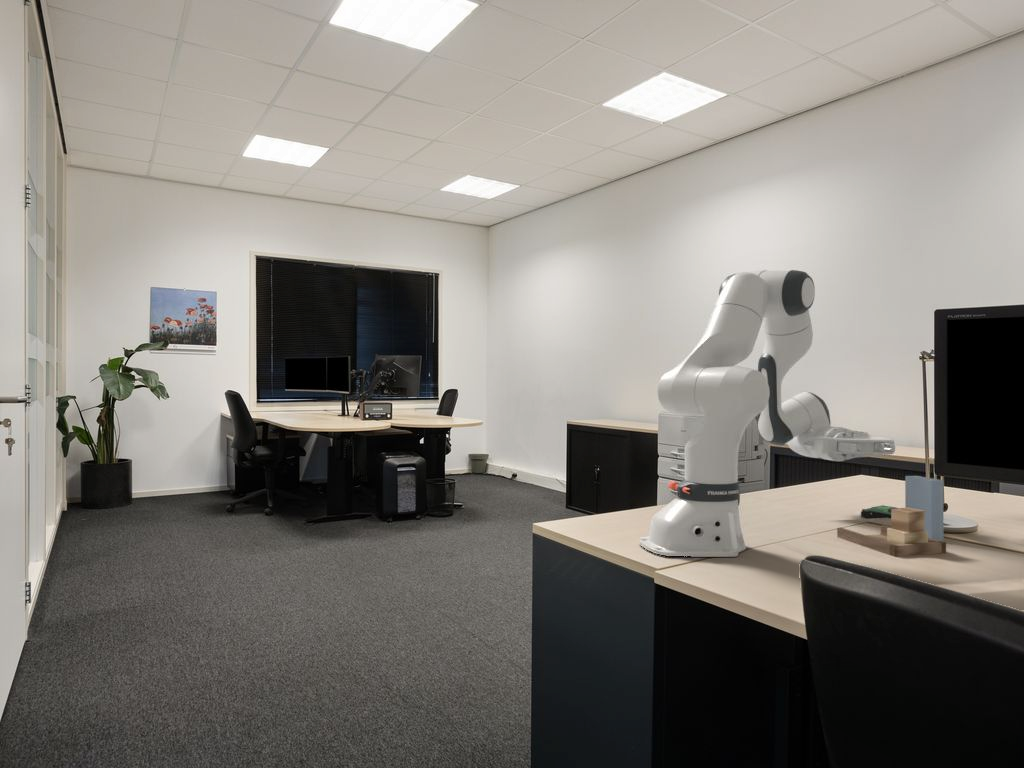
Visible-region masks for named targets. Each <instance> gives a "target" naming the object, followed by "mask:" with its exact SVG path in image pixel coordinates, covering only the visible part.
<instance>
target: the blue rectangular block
mask: <svg viewBox="0 0 1024 768" xmlns="http://www.w3.org/2000/svg"><path fill="white" fill-rule="evenodd" d="M904 478H905V480H904V482H905V483H904V484H905V486H904V487H905V488H904V489H905V492H904V493H905V495H904V496H905V499H904V500H905V501H904V502H905V505H904V506H905V507H904V508H912V509H917V510H922V511H925V531H927V532H928V538H931V539H934V540H938V541H941V542H944V480H943V479H938V478H931V477H926V476H922V475H905V476H904Z"/></svg>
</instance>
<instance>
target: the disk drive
mask: <svg viewBox="0 0 1024 768" xmlns="http://www.w3.org/2000/svg"><path fill="white" fill-rule="evenodd" d="M897 508H898V507H896V506H890V505H889V506H888V505H883V504H882V505H879V506H878V505H877V506H871V507H870V508H862V509H861V511H860V517H861V518H863V519H868V520H871V519H872V520H873V519H874V520H875V519H890V520H891V509H897Z"/></svg>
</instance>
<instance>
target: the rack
mask: <svg viewBox="0 0 1024 768" xmlns="http://www.w3.org/2000/svg"><path fill="white" fill-rule="evenodd" d="M887 528H891V526H889V525H886V524H885V525H884V524H882V525H880V534H862V533H859V532H856V531H854V530H851V529H846V528H843V527H837V530H836V531H837V532H836V533H837V534H836V536H837V539H838V538H839V539H842V540H845V541H848V542H851V543H853V544H856V545H858V546H859V545H860V546H862V547H865V548H868V549H871V550H874V551H877V552H880V553H883V554H885V555H888V556H892V557H907V556H908V557H909V556H920V555H921V556H922V555H923V556H924V555H938V554H939V555H940V554H947V543H946V542H945V541H938V540H934V539H931V538H928V542H927V543H911V544H891V543H888V542H887Z"/></svg>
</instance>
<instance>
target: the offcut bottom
mask: <svg viewBox="0 0 1024 768" xmlns="http://www.w3.org/2000/svg"><path fill="white" fill-rule="evenodd" d="M887 542H888V543H891V544H911V543H927V542H928V532H927V531H918V532H910V533H908V532H904V531H899V530H895V529H891V528H887Z"/></svg>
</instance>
